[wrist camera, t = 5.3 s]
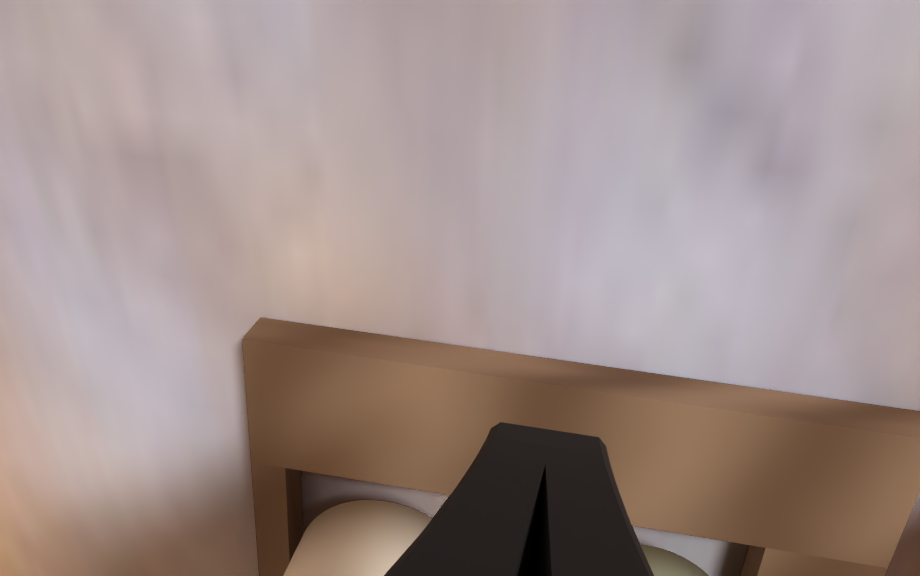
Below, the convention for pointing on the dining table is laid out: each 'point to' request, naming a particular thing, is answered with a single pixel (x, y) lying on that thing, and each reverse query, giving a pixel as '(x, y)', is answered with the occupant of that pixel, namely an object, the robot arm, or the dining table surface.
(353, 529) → the cream puck
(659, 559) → the sage puck
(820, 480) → the brown compartment tray
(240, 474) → the dining table surface
